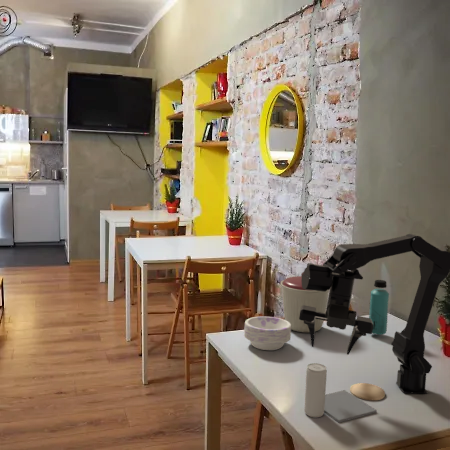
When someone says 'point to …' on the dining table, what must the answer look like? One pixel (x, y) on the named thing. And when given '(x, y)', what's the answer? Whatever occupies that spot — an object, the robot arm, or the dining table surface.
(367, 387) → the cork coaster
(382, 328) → the beverage bottle
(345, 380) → the dining table surface
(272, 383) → the dining table surface
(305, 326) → the canister
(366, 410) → the slate coaster
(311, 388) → the beverage can
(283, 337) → the paper bowls
